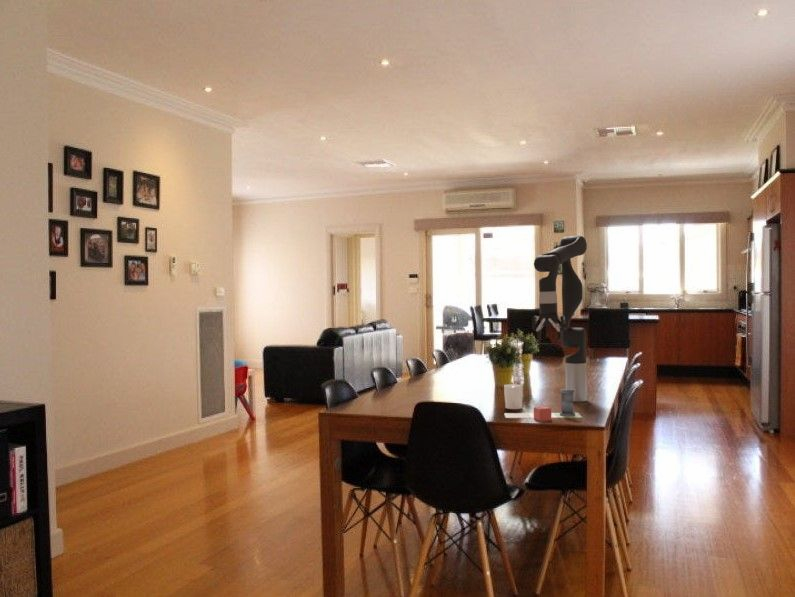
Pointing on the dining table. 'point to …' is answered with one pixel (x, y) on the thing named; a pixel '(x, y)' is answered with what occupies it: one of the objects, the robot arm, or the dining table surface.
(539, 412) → the red die
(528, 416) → the game track
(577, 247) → the robot arm
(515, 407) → the white cup
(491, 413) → the dining table surface
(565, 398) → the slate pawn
